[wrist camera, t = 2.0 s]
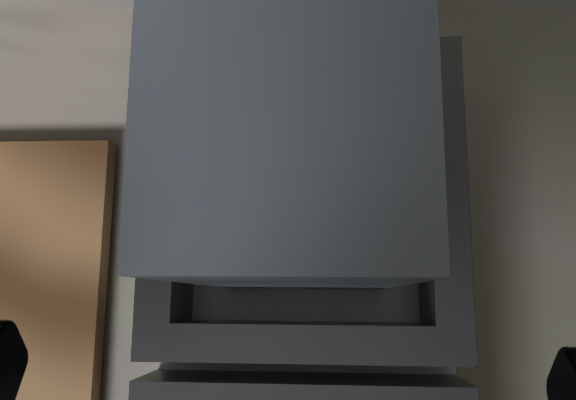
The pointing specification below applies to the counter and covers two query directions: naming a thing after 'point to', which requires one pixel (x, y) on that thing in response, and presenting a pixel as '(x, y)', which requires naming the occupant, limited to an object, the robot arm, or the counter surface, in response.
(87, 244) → the walnut board
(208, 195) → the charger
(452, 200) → the power strip
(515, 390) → the counter surface
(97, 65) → the counter surface
